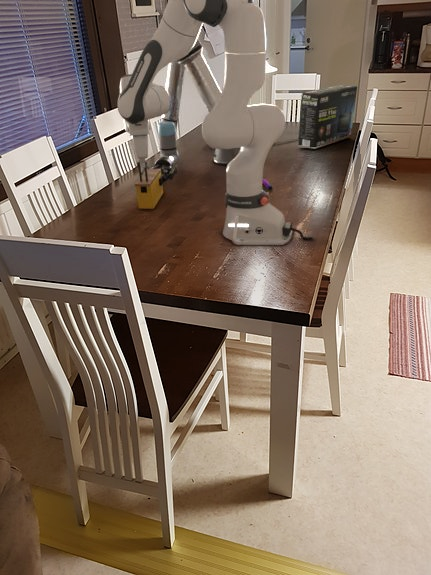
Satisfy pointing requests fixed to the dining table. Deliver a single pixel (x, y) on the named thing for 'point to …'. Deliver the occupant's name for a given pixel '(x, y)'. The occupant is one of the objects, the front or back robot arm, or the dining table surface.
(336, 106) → the router box
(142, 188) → the chest
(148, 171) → the lid
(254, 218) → the front robot arm
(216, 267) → the dining table surface
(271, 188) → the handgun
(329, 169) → the dining table surface
